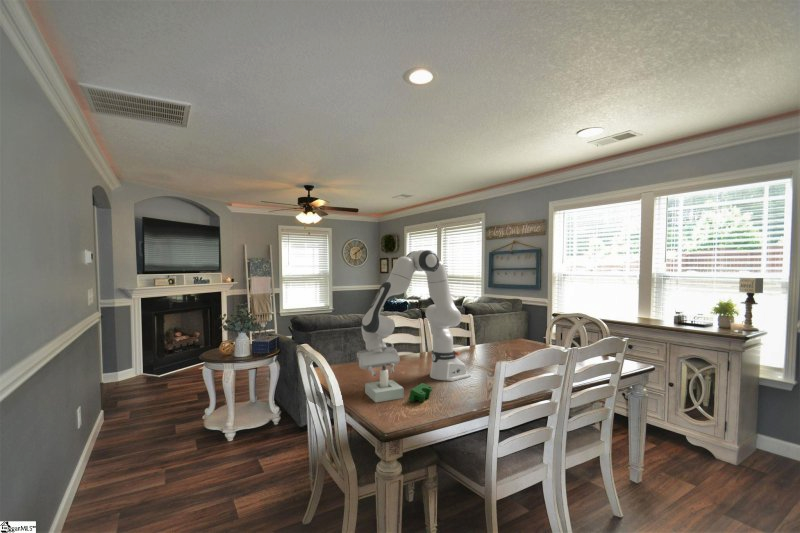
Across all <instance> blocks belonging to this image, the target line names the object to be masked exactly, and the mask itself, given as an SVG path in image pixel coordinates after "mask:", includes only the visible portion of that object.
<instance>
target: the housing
mask: <svg viewBox="0 0 800 533" xmlns="http://www.w3.org/2000/svg"><path fill="white" fill-rule="evenodd" d="M364 393H365V394H366V395H367V397H368V398H370V399H371V400H372V401H373V402H374V403H376V404H377V403H380V402H381V403H382V402H388V401H393V400H399V399H400V400H401V399H404V398H405V389H404V387H403V386H402V385H400V384H399V383H397V382H396V381H395V380H394V379H388V388H381V389H380V380H379V381H371V382H365V383H364Z"/></svg>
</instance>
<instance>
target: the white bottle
mask: <svg viewBox="0 0 800 533" xmlns="http://www.w3.org/2000/svg"><path fill="white" fill-rule="evenodd" d="M388 380H389V369H388V368H387V366H386V365H383V366H382V367H381V368H380V369H379V381H380V389H381V388H388Z"/></svg>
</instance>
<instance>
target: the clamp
mask: <svg viewBox="0 0 800 533" xmlns="http://www.w3.org/2000/svg"><path fill="white" fill-rule="evenodd" d="M432 392H433V387H432V386H431V385H429V384H427V383H424V382H422V383H419V384H418V385H416V386H414V387H413V388H411V389H410V393H409V397H408V400H409V401H410V402H412V403H415V402H416V401H419V402H421V403H425V399H428V400H429V399H430V395H431V393H432Z"/></svg>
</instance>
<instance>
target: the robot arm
mask: <svg viewBox="0 0 800 533" xmlns="http://www.w3.org/2000/svg"><path fill="white" fill-rule="evenodd" d="M415 272H424V273H425V275H426V280H427V288H428V293H429V297H430V299H431V300H432V302H433V303H434V304H430V305H428V306H427V307H426V309H425V314H424V315H425V318H426V320H427V322H428V323H429V327H430V330H431V335H432V336H431V338H432V350H431V368H430V374H429V377H430V378H431V379H432V380H433V379H434V380H437V381H448V382H455V381H458V380H462V379H466V378H470V377H471V373H470V372H469V371H467V366H466V364H465V363H464V362H463V361H462V360H460V359H459V358H458V357H456V356H460V351H455V350H454V337H453V334H452V332H451V331H450V328H454V327H457V326H459V325H460V324H461V322H462V313H461V311H460V310H459V309H458V308H457V306H456V304H455V302H454V300H453V297H452V295H451V291H450V285H449V279H448V273H447V270H446V267H445V264H444V262H443V261H442V260H440V259H439V257H438V255H437V254H436V252H434V251H432V250H428V249H426V250H424V249H420V250H419V249H418V250H415V251H411V252H409V253H408V254H407V255H406V256H400V257H398V258H397V259H396V261H395V263H394V265H393V267H392V269H391V271H390V274H389V277H388V279H387V280H386V281H385V282H383V283H382V284H381V285H380V287H379V288H378V290H377V292H376V293H375V296H374V297H373V299H372V301H371V304H370V305H369V307H368V309H367V311H366V312H365V313H364V315H363V317H362V319H361V335H362V339H363V341H364V342H365V348H366V350H365V349H364V350H358V351H357V352H356V357H357V359H358V366H359V368H360V369H361V370H368V372H369V373H371V376H372V377H376V376H377V373H376V370H374V369H376V368H382V366H383V365H386V367H389V366H390V369H389V372H390V374H394V373H395V369H394V368H395V366H397V365H398V364H399V363H400V360H401V358H400V355H399V353H398V351H397V349H396V348H394V346H395V345H394V343H392V342H387V341H383V339H387V338H389V337H390V336H391V335H392V334H393V333H394V331H395V328H396V325H395V320H394V319H393V318H390V317H388V316H385V315H382V314H381V311H382V309H383V307H384V306H385V303H386V301H387V299H388V298H390V297H392V296H398V295H402V294H405V293H406V292H407V290H408V289H409V287H410V285H411V283H412V282H411V281H412V279H413V275H414V273H415Z"/></svg>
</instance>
